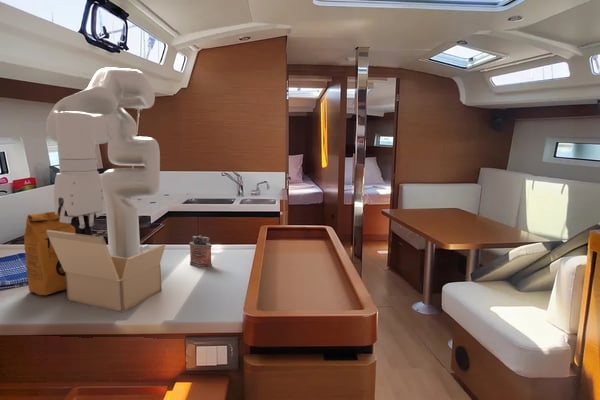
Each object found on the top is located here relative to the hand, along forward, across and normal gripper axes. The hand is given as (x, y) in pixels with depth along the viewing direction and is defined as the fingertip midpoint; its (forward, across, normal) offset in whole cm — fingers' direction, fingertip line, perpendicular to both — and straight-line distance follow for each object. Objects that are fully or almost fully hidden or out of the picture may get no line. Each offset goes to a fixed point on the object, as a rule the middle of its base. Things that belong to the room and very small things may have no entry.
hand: (84, 243), depth 91 cm
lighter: (+17, -38, +7) cm, 42 cm away
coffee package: (+17, -7, -18) cm, 26 cm away
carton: (+17, -9, 0) cm, 19 cm away
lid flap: (+3, 0, 0) cm, 3 cm away
